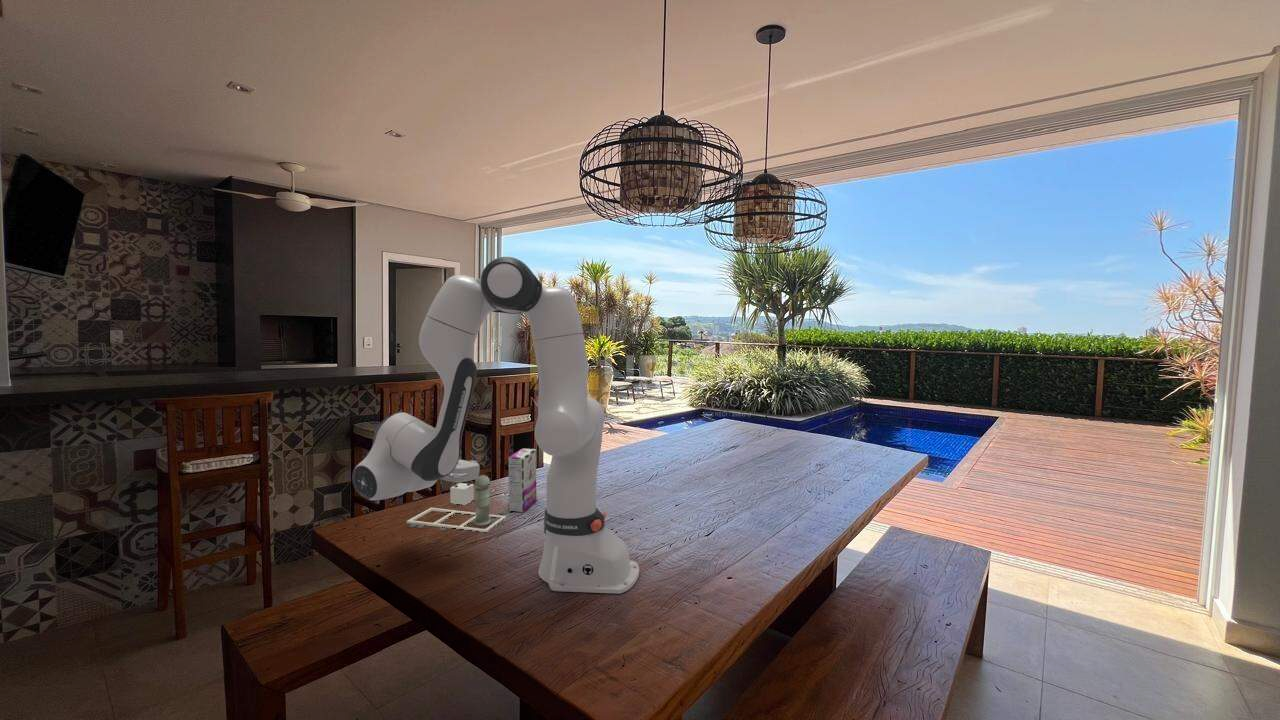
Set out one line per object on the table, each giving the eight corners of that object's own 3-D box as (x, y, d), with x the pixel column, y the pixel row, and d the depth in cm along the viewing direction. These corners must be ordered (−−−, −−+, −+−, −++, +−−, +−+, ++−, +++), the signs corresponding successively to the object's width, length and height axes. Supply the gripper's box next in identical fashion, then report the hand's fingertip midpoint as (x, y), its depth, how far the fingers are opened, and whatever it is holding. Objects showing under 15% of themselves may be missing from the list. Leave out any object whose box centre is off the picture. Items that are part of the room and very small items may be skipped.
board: (506, 518, 153) (506, 516, 153) (481, 536, 140) (481, 534, 140) (431, 509, 159) (431, 507, 159) (400, 526, 146) (400, 524, 146)
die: (474, 500, 168) (474, 482, 167) (465, 505, 163) (465, 487, 162) (459, 498, 169) (459, 481, 168) (450, 503, 164) (450, 485, 164)
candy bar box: (521, 499, 169) (521, 447, 168) (536, 500, 168) (537, 448, 167) (507, 511, 158) (507, 456, 157) (523, 513, 157) (523, 457, 156)
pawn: (493, 521, 150) (493, 474, 149) (485, 527, 146) (485, 478, 145) (479, 520, 151) (479, 472, 150) (471, 525, 147) (470, 477, 146)
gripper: (458, 464, 120) (495, 455, 133) (387, 448, 127) (429, 441, 140) (455, 492, 120) (492, 480, 133) (384, 474, 127) (426, 465, 140)
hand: (459, 460), depth 137 cm, fingers open, 8 cm apart
